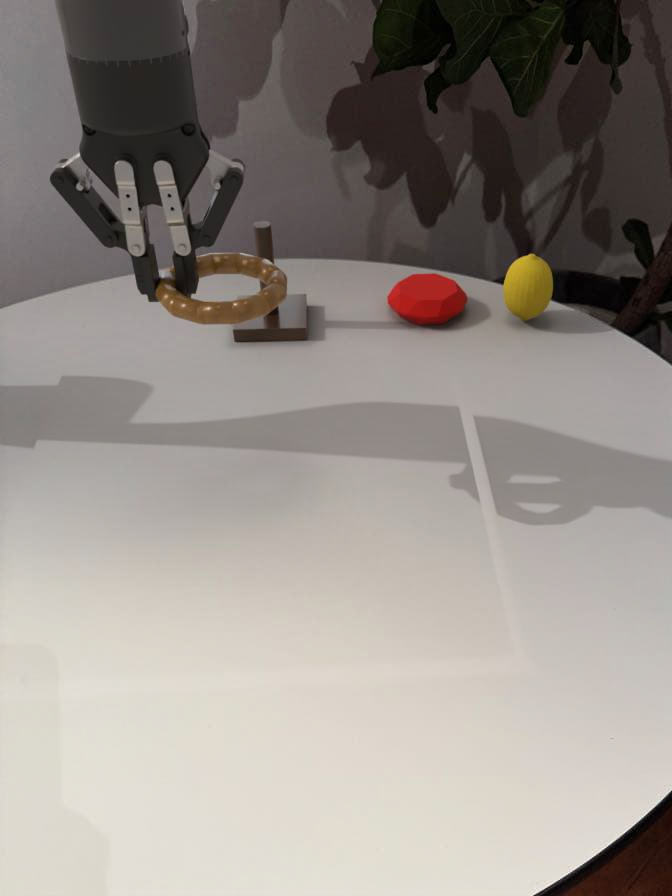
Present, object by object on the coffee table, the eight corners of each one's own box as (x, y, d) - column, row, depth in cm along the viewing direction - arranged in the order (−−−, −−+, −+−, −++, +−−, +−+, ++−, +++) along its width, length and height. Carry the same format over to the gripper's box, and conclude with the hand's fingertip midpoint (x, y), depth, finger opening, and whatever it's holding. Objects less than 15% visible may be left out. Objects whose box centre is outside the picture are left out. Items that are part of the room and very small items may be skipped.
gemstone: (412, 336, 98) (412, 312, 96) (375, 302, 103) (375, 278, 101) (479, 318, 101) (481, 294, 99) (440, 286, 107) (441, 263, 105)
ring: (150, 329, 62) (146, 308, 61) (167, 269, 69) (164, 249, 68) (286, 327, 63) (284, 307, 62) (289, 268, 70) (287, 249, 69)
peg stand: (234, 341, 96) (221, 241, 88) (238, 307, 102) (226, 209, 94) (307, 339, 97) (300, 239, 89) (307, 305, 103) (300, 208, 95)
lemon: (547, 310, 103) (556, 245, 97) (548, 334, 99) (558, 267, 93) (500, 307, 103) (507, 242, 98) (499, 330, 99) (506, 264, 93)
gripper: (-4, 55, 51) (67, 323, 63) (234, 55, 52) (260, 320, 63) (27, 23, 56) (87, 275, 68) (241, 24, 57) (265, 273, 69)
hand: (171, 296), depth 66 cm, fingers closed on ring, 1 cm apart
